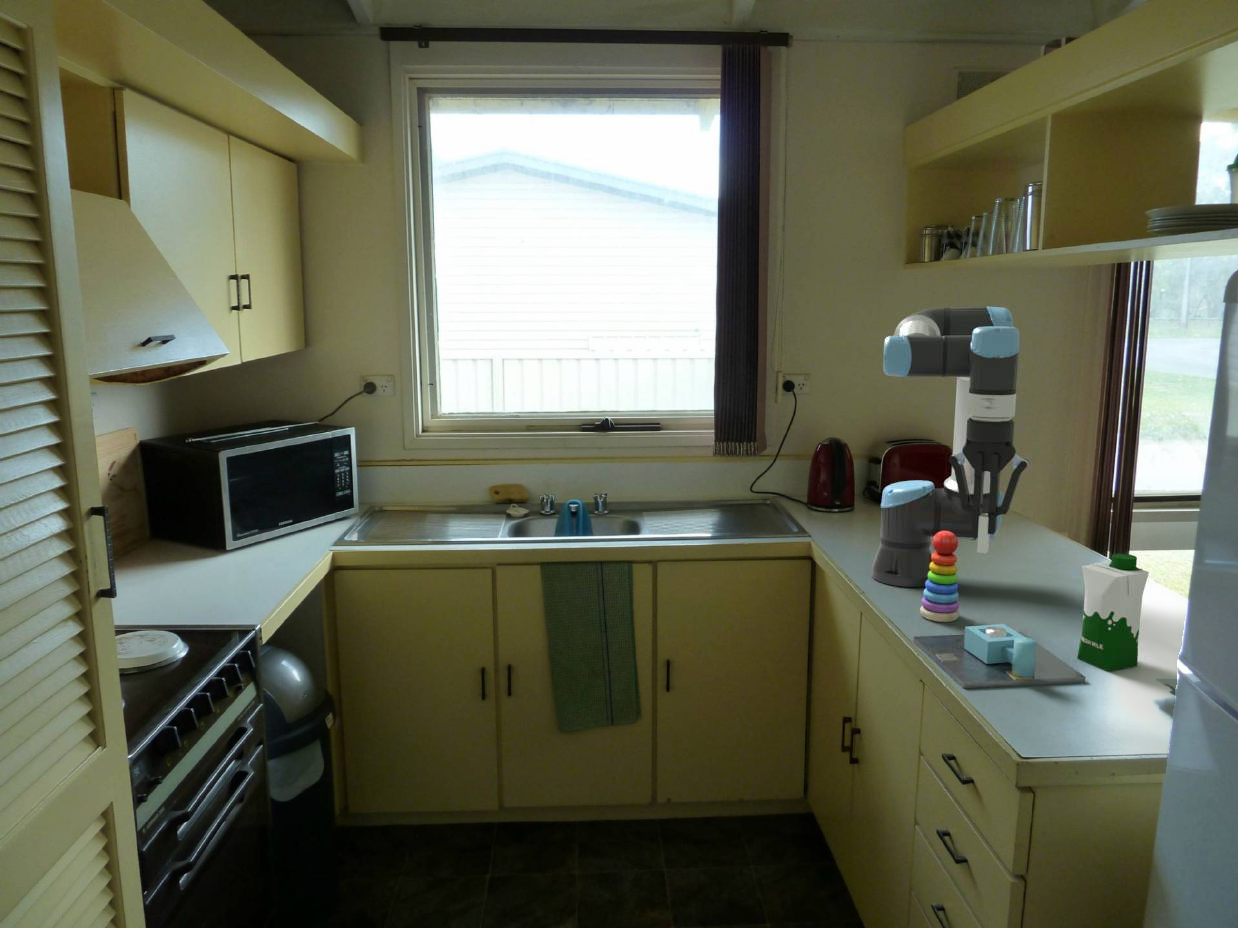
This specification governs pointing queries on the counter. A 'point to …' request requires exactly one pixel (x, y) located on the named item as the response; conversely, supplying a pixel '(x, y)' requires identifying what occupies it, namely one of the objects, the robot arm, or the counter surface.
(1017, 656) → the blue handled square frame
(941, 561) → the stacking toy
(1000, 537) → the counter surface
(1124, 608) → the milk carton
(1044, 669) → the post plate
